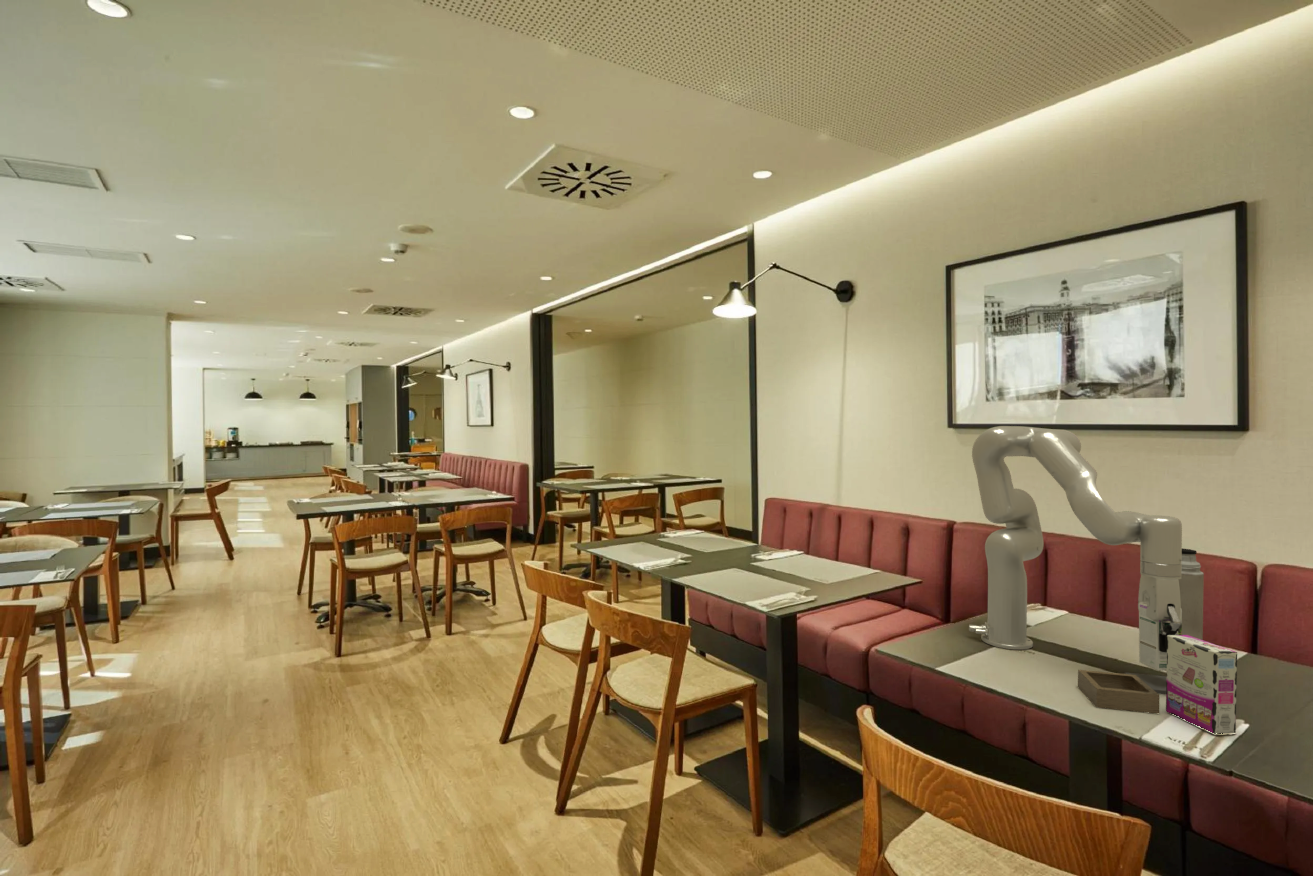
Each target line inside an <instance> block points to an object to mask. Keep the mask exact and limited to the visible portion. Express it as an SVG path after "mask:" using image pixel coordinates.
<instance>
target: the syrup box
mask: <svg viewBox="0 0 1313 876" xmlns="http://www.w3.org/2000/svg"><path fill="white" fill-rule="evenodd" d="M1146 604H1147V603H1144V602H1139V610H1138V641H1139V643H1138V644H1139V645H1138V646H1139V647H1138V648H1139V649H1138V650H1139V651H1138V653H1139V654H1138V657H1139V663H1141V664H1142V665H1144V666H1147V667H1148V668H1150V669H1153V670H1154V671H1157V672H1160V671H1167V652H1161V651H1159V634H1161V629H1160V620H1159V621H1158V622H1156V621H1153V620H1151V619H1150V618H1148V617H1147V616H1146V608H1147V607H1146V606H1147V605H1146ZM1163 620H1168V621H1170V619H1167V618H1164V619H1163ZM1180 623H1181V624H1180V626H1179V628H1178V629H1179V630H1178V631H1177V632H1178V635H1182V609H1181V616H1180ZM1167 625H1170V624H1165V628H1166V627H1167Z"/></svg>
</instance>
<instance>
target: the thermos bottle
mask: <svg viewBox="0 0 1313 876" xmlns="http://www.w3.org/2000/svg"><path fill="white" fill-rule="evenodd" d="M1196 555H1197V550H1195V549H1192V548H1191V549H1189V548H1182V563H1181V564H1182V570H1181V579H1178V580H1179V587H1180V600H1181V609H1182V635H1189V636H1192V637H1195V638H1198V639H1200V640H1203V634H1204V631H1203V630H1204V629H1203V628H1204V586H1205V585H1204V584H1205V583H1204V582H1205V581H1204V577H1205V575H1204V572H1203V571H1201V567H1202V565H1201V563H1200V562H1198V561H1197V556H1196ZM1203 641H1204V640H1203Z"/></svg>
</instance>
